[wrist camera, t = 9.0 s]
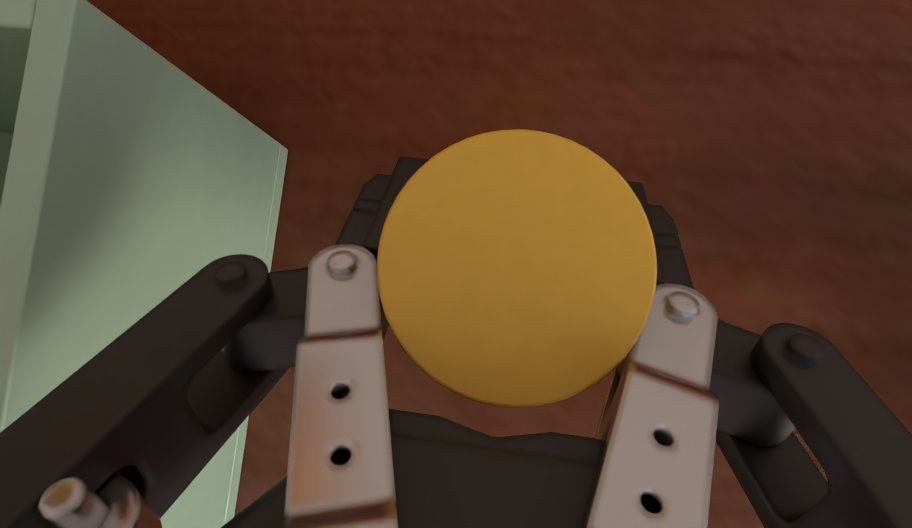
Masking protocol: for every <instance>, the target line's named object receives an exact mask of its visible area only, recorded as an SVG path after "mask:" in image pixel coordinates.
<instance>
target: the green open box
mask: <svg viewBox="0 0 912 528" xmlns="http://www.w3.org/2000/svg"><path fill="white" fill-rule="evenodd" d="M287 155H288V149H287V148H285V147H284V146H282V145H281V144H280V143H279V142H277V141H276V140H274V139H273V138H272V137H270V136H269V135H268V134H266V133H265V132H264V131H262V130H261V129H260V128H258V127H257V126H256V125H254V124H253V123H251V122H250V121H249V120H247V119H246V118H245V117H243V116H242V115H241V114H239V113H238V112H237V111H235V110H234V109H233V108H231V107H230V106H228V105H227V104H226V103H224V102H223V101H222V100H220V99H219V98H218V97H216V96H215V95H214V94H212V93H211V92H210V91H208V90H207V89H205V88H204V87H203V86H201V85H200V84H199V83H197V82H196V81H195V80H193V79H192V78H191V77H189V76H188V75H187V74H185V73H184V72H183V71H181V70H180V69H178V68H177V67H176V66H174V65H173V64H172V63H170V62H169V61H168V60H166V59H165V58H164V57H162V56H161V55H160V54H158V53H157V52H155V51H154V50H153V49H151V48H150V47H149V46H147V45H146V44H145V43H143V42H142V41H141V40H139V39H138V38H137V37H135V36H134V35H132V34H131V33H130V32H128V31H127V30H126V29H124V28H123V27H122V26H120V25H119V24H118V23H116V22H115V21H114V20H112V19H111V18H109V17H108V16H107V15H105V14H104V13H103V12H101V11H100V10H99V9H97V8H96V7H95V6H93V5H92V4H91V3H89V2H88V1H86V0H0V433H1V432H2V431H3V430H4V429H5V428H7V427H8V426H9V425H10V424H12V423H13V422H14V421H15V420H17V419H18V418H19V417H20V416H21V415H23V414H24V413H25V412H26V411H28V410H29V409H30V408H31V407H33V406H34V405H35V404H36V403H37V402H39V401H40V400H41V399H42V398H44V397H45V396H46V395H47V394H49V393H50V392H51V391H52V390H53V389H55V388H56V387H57V386H58V385H60V384H61V383H62V382H63V381H65V380H66V379H67V378H68V377H69V376H71V375H72V374H73V373H74V372H76V371H77V370H78V369H79V368H81V367H82V366H83V365H84V364H85V363H87V362H88V361H89V360H90V359H92V358H93V357H94V356H95V355H97V354H98V353H99V352H100V351H101V350H103V349H104V348H105V347H106V346H108V345H109V344H110V343H111V342H113V341H114V340H115V339H116V338H117V337H119V336H120V335H121V334H122V333H124V332H125V331H126V330H127V329H129V328H130V327H131V326H132V325H133V324H135V323H136V322H137V321H138V320H140V319H141V318H142V317H143V316H145V315H146V314H147V313H148V312H149V311H151V310H152V309H153V308H154V307H156V306H157V305H158V304H159V303H161V302H162V301H163V300H164V299H165V298H167V297H168V296H169V295H170V294H172V293H173V292H174V291H175V290H177V289H178V288H179V287H180V286H181V285H183V284H184V283H185V282H186V281H188V280H189V279H190V278H191V277H193V276H194V275H195V274H196V273H197V272H199V271H200V270H201V269H202V268H204V267H205V266H206V265H208V264H209V263H211V262H212V261H214V260H216V259H219V258H221V257H225V256H229V255H235V254H246V255H252V256H255V257H257V258H259V259H261V260H262V261H263V262H264V263H265V264H266V266H267V268H268V272H269V273H270V270H271V263H272V257H273V250H274V243H275V236H276V230H277V223H278V216H279V209H280V203H281V196H282V189H283V182H284V175H285V169H286V162H287ZM248 419H249V416H248V417H247V418H246V419H245V420H244V422H243V423H242V424H241V425H240V426H239V427H238V429H237V430H236V431H235V432H234V433H233V434H232V436H231V437H230V438H229V439H228V440H227V441H226V443H225V444H224V445H223V446H222V447H221V448H220V450H219V451H218V452H217V453H216V454H215V455H214V457H213V458H212V459H211V460H210V461H209V462H208V464H207V465H206V466H205V467H204V468H203V469H202V471H201V472H200V473H199V474H198V475H197V476H196V478H195V479H194V480H193V481H192V482H191V483H190V485H189V486H188V487H187V488H186V489H185V490H184V492H183V493H182V494H181V495H180V496H179V498H178V499H177V500H176V501H175V502H174V503H173V505H172V506H171V507H170V508H169V509H168V510H167V512H166V513H165V514H164V515H163V516H162V517H161V519H160V520H161V524H162V528H221V527H222V526H224V525H225V524H226V523H227V522H229V521H230V520H231V519H233V518H234V514H235V507H236V500H237V494H238V487H239V480H240V473H241V467H242V460H243V453H244V446H245V440H246V433H247V426H248Z"/></svg>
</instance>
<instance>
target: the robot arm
mask: <svg viewBox="0 0 912 528" xmlns="http://www.w3.org/2000/svg"><path fill="white" fill-rule="evenodd" d="M427 161H429V160H428V159H419V158H410V157H400V158H399V159H398V162H397V164H396V167H395V169H394V171H393V174H392V175H383V174H377V175H376V176H374V177H373V178H372V179H370V180H369V181H368V182H367V183H365V184H364V186H363V188H362V190H361V192H360V194H359V196H358V200H356V202H355V204H354V206H353V211H352V210H351V213H350V215H349V217H348V219H347V221H346V223H345V225H344V227H343V229H342V231H341V233H340V235H339V237H338V240H337V242H336V244H335V246H331V247H328V248H326V249H324V250H322V251H320V252H319V253H317V254H316V255H315V256H314V257H313V258H312V260H311V261H310V263H309V267H306V268H302V269H296V270H288V271H279V272H270V273H269V272H268V268H267V266H266V264H265V263H264V262H263V261H262V260H261V259H259V258H257V257H255V256H252V255H246V254H235V255H229V256H225V257H221V258H219V259H216V260H214V261H212V262H211V263H209V264H208V265H206V266H205V267H204V268H202V269H201V270H200V271H199V272H197V273H196V274H195V275H194V276H193V277H191V278H190V279H189V280H188V281H186V282H185V283H184V284H183V285H181V286H180V287H179V288H178V289H177V290H175V291H174V292H173V293H172V294H170V295H169V296H168V297H167V298H165V299H164V300H163V301H162V302H161V303H159V304H158V305H157V306H156V307H154V308H153V309H152V310H151V311H149V312H148V313H147V314H146V315H145V316H143V317H142V318H141V319H140V320H138V321H137V322H136V323H135V324H133V325H132V326H131V327H130V328H129V329H127V330H126V331H125V332H124V333H122V334H121V335H120V336H119V337H117V338H116V339H115V340H114V341H113V342H111V343H110V344H109V345H108V346H106V347H105V348H104V349H103V350H101V351H100V352H99V353H98V354H97V355H95V356H94V357H93V358H92V359H90V360H89V361H88V362H87V363H85V364H84V365H83V366H82V367H81V368H79V369H78V370H77V371H76V372H74V373H73V374H72V375H71V376H69V377H68V378H67V379H66V380H65V381H63V382H62V383H61V384H60V385H58V386H57V387H56V388H55V389H53V390H52V391H51V392H50V393H49V394H47V395H46V396H45V397H44V398H42V399H41V400H40V401H39V402H37V403H36V404H35V405H34V406H33V407H31V408H30V409H29V410H28V411H26V412H25V413H24V414H23V415H21V416H20V417H19V418H18V419H17V420H15V421H14V422H13V423H12V424H10V425H9V426H8V427H7V428H5V429H4V430H3V431H2V432H1V433H0V528H162V524H161V520H160V519H161V517H162V516H163V515H164V514H165V513H166V512H167V510H168V509H169V508H170V507H171V506H172V505H173V503H174V502H175V501H176V500H177V499H178V498H179V496H180V495H181V494H182V493H183V492H184V490H185V489H186V488H187V487H188V486H189V485H190V483H191V482H192V481H193V480H194V479H195V478H196V476H197V475H198V474H199V473H200V472H201V471H202V469H203V468H204V467H205V466H206V465H207V464H208V462H209V461H210V460H211V459H212V458H213V457H214V455H215V454H216V453H217V452H218V451H219V450H220V448H221V447H222V446H223V445H224V444H225V443H226V441H227V440H228V439H229V438H230V437H231V436H232V434H233V433H234V432H235V431H236V430H237V429H238V427H239V426H240V425H241V424H242V423H243V422H244V420H245V419H246V418H247V417H248V416H249V414H250V413H251V412H252V411H253V410H254V409H255V407H256V406H257V405H258V404H259V403H260V402H261V400H262V399H263V398H264V397H265V396H266V395H267V393H268V392H269V391H270V390H271V389H272V388H273V386H274V385H275V384H276V383H277V382H278V381H279V379H280V378H281V377H282V376H283V375H284V374H285V372H286V371H287V370H288V368H289V367H295V376H294V390H293V404H292V418H291V431H290V445H289V459H288V473H287V476H285V477H284V478H283V479H282V480H280V481H279V482H278V483H277V484H275V485H274V486H273V487H272V488H270V489H269V490H268V491H267V492H265V493H264V494H263V495H262V496H260V497H259V498H258V499H256V500H255V501H254V502H253V503H251V504H250V505H249V506H248V507H246V508H245V509H244V510H243V511H241V512H240V513H239V514H238V515H236V516H235V517H234V518H233V519H231V520H230V521H229V522H227V523H226V524H225V525H224V526H222V527H221V528H707V522H708V512H709V501H710V491H711V481H712V471H713V461H714V451H715V440H716V442H717V444H718V446H719V447H720V449H721V451H722V453H723V454H724V456H725V458H726V460H727V461H728V463H729V465H730V467H731V469H732V470H733V472H734V474H735V476H736V477H737V479H738V481H739V483H740V485H741V486H742V488H743V490H744V492H745V493H746V495H747V497H748V499H749V501H750V502H751V504H752V506H753V508H754V509H755V511H756V513H757V515H758V516H759V518H760V520H761V522H762V524H763V525H764V527H765V528H912V434H911V433H910V432H909V431H908V430H907V429H906V428H905V426H904V425H903V424H902V423H901V422H900V421H899V419H898V418H897V417H896V416H895V415H894V414H893V413H892V411H891V410H890V409H889V408H888V407H887V406H886V405H885V403H884V402H883V401H882V400H881V399H880V398H879V397H878V395H877V394H876V393H875V392H874V391H873V390H872V389H871V387H870V386H869V385H868V384H867V383H866V382H865V380H864V379H863V378H862V377H861V376H860V375H859V374H858V372H857V371H856V370H855V369H854V368H853V367H852V366H851V364H850V363H849V362H848V361H847V360H846V359H845V358H844V356H843V355H842V354H841V353H840V352H839V351H838V349H837V348H836V347H835V346H834V345H833V344H832V343H831V342H829V341H828V340H827V339H826V338H824V337H823V336H821V335H820V334H818V333H816V332H815V331H813V330H810V329H808V328H806V327H803V326H800V325H795V324H789V323H779V324H774V325H772V326H770V327H768V328H767V329H766V330H765V331H764V333H763V334H762V336H761V335H758V334H755V333H753V332H750V331H747V330H744V329H741V328H739V327H736V326H733V325H731V324H728V323H726V322H724V321H722V320H720V319H718V315H717V312H716V309H715V307H714V306H713V304H712V303H711V302H710V301H709V300H708V299H707V298H706V297H705V296H704V295H702V294H701V293H699V292H698V291H696V290H694V288H693V285H692V281H691V278H690V274H689V271H688V268H687V264H686V261H685V257H684V254H683V250H682V249H681V243H680V240H679V237H677V236H678V233H677V230H676V226H675V223H674V220H673V219H672V217H671V216H670V215H669V214H668V213H667V212H666V211H665V210H664V209H663V207H662V206H659V205H650V204H647V200H646V196H645V191H644V187H643V184H642V183H637V182H628V181H626V182H627V183H628V184H629V186H630V187H631V189H632V190H633V192H634V193H635V195H636V196H637V198H638V200H639V201H640V203H641V205H642V207H643V210H644V212H645V214H646V216H647V218H648V221H649V224H650V227H651V230H652V233H653V238H654V243H655V249H656V258H657V279H656V290H655V295H654V299H653V304H652V308H651V311H650V313H649V316H648V319H647V322H646V324H645V326H644V328H643V330H642V332H641V334H640V336H639V338H638V340H637V342H636V343H635V344H634V346H633V347H632V349H631V350H630V351H629V353H628V354H627V356H626V357H625V358H624V359H623V360H622V361H621V362H620V363H619V364H618V365H617V367H616V369H615V372H614V374H613V377H612V379H611V383H610V386H609V390H608V393H607V397H606V400H605V403H604V407H603V410H602V414H601V417H600V420H599V424H598V427H597V431H596V434H595V438H588V437H581V436H574V435H567V434H560V433H553V432H549V433H538V434H528V435H518V436H507V437H491V436H488V435H485V434H483V433H480V432H478V431H475V430H473V429H470V428H468V427H465V426H463V425H460V424H458V423H455V422H453V421H450V420H448V419H445V418H443V417H440V416H435V415H428V414H421V413H414V412H407V411H400V410H393V409H388V398H387V386H386V374H385V362H384V350H383V340H384V337H385V334H386V331H387V327H388V325H389V323H388V320H387V318H386V316H385V313H384V309H383V306H382V302H381V299H380V294H379V287H378V280H377V257H378V248H379V242H380V238H381V234H382V230H383V226H384V223H385V221H386V218H387V215H388V213H389V210H390V208H391V207H392V205H393V203H394V201H395V199H396V197H397V195H398V194H399V192H400V191H401V190H402V188H403V187H404V186H405V184H406V183H407V181H408V180H409V179H410V178H411V177H412V176H413V175H414V174H415V173H416V171H417V170H418V169H419V168H420V167H421V166H422V165H424V164H425V163H426V162H427ZM795 428H796V429H797V431H798V432H799V434H800V435H801V436H802V438H803V439H804V441H805V442H806V444H807V445H808V446H809V448H810V449H811V451H812V452H813V454H814V455H815V457H816V458H817V459H818V461H819V462H820V464H821V465H822V467H823V469H824V471H825V473H826V476H827V479H828V482H827V481H826V479H825V478H824V477H823V475H822V474H821V472H820V471H819V469H818V468H817V466H816V465H815V464H814V462H813V461H812V459H811V458H810V456H809V455H808V453H807V452H806V451H805V449H804V448H803V446H802V445H801V443H800V442H799V440H798V439H797V437H796V436H795V435H794V433H793V432H792V431H793V430H794V429H795Z"/></svg>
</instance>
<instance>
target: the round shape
mask: <svg viewBox="0 0 912 528" xmlns="http://www.w3.org/2000/svg"><path fill="white" fill-rule="evenodd" d="M656 279H657V258H656V249H655V243H654V238H653V233H652V230H651V227H650V224H649V221H648V218H647V216H646V214H645V212H644V210H643V207H642V205H641V203H640V201H639V200H638V198H637V196H636V195H635V193H634V192H633V190H632V189H631V187H630V186H629V184H628V183H627V182H626V181H625V180H624V179H623V178H622V176H621V175H620V174H619V173H618V172H617V171H616V170H615V169H614V168H613V167H612V166H611V165H610V164H608V163H607V162H606V161H605V160H604V159H603V158H601V157H600V156H598V155H597V154H595V153H594V152H592V151H591V150H589V149H588V148H586V147H584V146H582V145H580V144H578V143H576V142H574V141H572V140H569V139H566V138H563V137H561V136H558V135H555V134H550V133H546V132H541V131H535V130H523V129H513V130H498V131H493V132H487V133H482V134H479V135H476V136H473V137H469V138H466V139H464V140H462V141H460V142H457V143H455V144H453V145H451V146H449V147H447V148H446V149H444V150H443V151H441V152H439V153H438V154H436V155H435V156H433V157H432V158H431V159H430V160H429V161H427V162H426V163H425V164H424V165H422V166H421V167H420V168H419V169H418V170H417V171H416V173H415V174H414V175H413V176H412V177H411V178H410V179H409V180H408V181H407V183H406V184H405V186H404V187H403V188H402V190H401V191H400V192H399V194H398V195H397V197H396V199H395V201H394V203H393V205H392V207H391V208H390V210H389V213H388V215H387V218H386V221H385V223H384V226H383V230H382V234H381V238H380V242H379V248H378V257H377V280H378V287H379V294H380V299H381V302H382V306H383V309H384V313H385V316H386V318H387V320H388V323H389V325H390V327H391V330H392V332H393V333H394V335H395V337H396V338H397V340H398V342H399V344H400V345H401V347H402V348H403V349H404V351H405V352H406V353H407V354H408V356H409V357H410V358H411V360H412V361H413V362H414V363H415V364H416V365H417V366H418V367H419V368H420V369H421V370H422V371H423V372H424V373H425V374H427V375H428V376H429V377H431V378H432V379H433V380H435V381H436V382H437V383H439V384H440V385H442V386H444V387H445V388H447V389H449V390H451V391H452V392H454V393H456V394H458V395H461V396H463V397H466V398H468V399H471V400H473V401H477V402H481V403H485V404H489V405H494V406H502V407H534V406H540V405H547V404H551V403H554V402H558V401H561V400H565V399H567V398H569V397H572V396H574V395H576V394H579V393H581V392H583V391H585V390H586V389H588V388H589V387H591V386H593V385H594V384H596V383H598V382H599V381H600V380H602V379H603V378H604V377H605V376H606V375H608V374H609V373H610V372H611V371H613V370H614V369H615V368H616V366H617V365H618V364H619V363H620V362H621V361H622V360H623V359H624V358H625V357H626V356H627V354H628V353H629V351H630V350H631V349H632V347H633V346H634V344H635V343H636V342H637V340H638V338H639V336H640V334H641V332H642V330H643V328H644V326H645V324H646V322H647V319H648V316H649V313H650V311H651V308H652V304H653V299H654V295H655V290H656Z"/></svg>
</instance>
